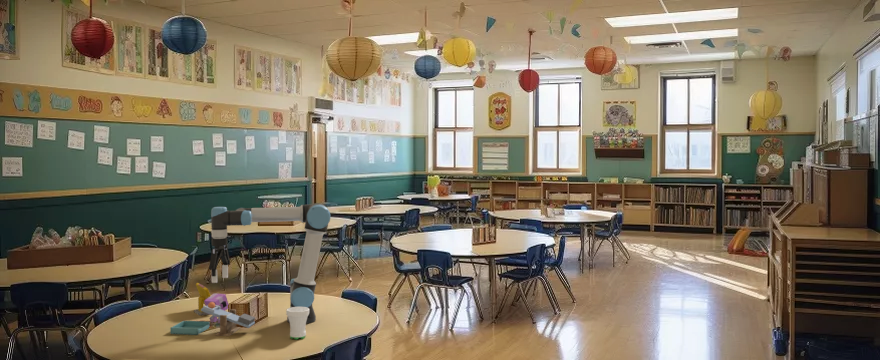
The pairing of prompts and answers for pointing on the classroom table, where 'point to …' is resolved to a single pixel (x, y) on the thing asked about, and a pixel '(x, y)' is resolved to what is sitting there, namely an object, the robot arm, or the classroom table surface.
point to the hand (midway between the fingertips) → (219, 280)
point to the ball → (211, 305)
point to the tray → (190, 327)
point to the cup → (297, 321)
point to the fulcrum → (227, 325)
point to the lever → (231, 316)
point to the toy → (219, 301)
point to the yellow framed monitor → (202, 298)
